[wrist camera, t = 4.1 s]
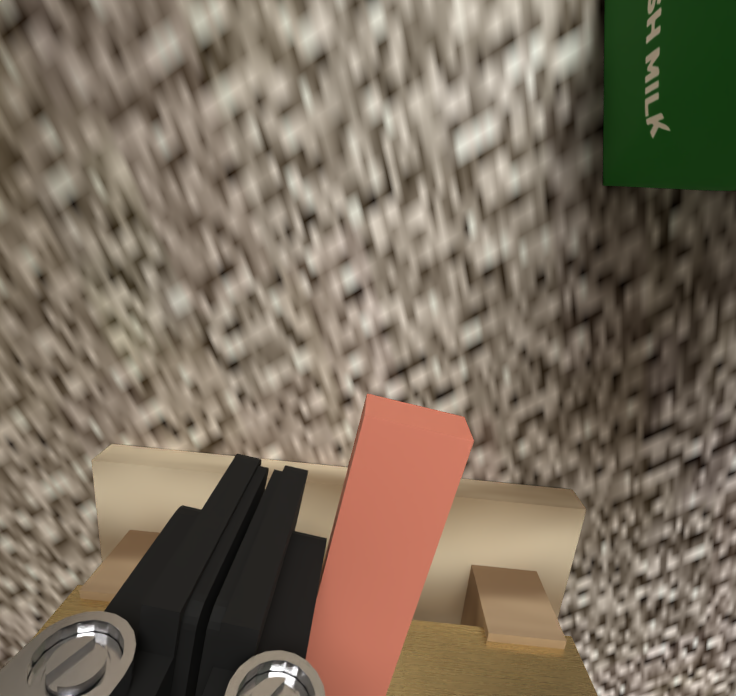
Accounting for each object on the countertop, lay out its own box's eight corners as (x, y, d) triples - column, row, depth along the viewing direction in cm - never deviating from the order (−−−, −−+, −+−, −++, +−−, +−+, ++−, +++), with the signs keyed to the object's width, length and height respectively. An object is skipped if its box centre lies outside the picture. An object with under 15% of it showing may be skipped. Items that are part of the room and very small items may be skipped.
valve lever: (325, 859, 13) (319, 922, 12) (240, 842, 13) (225, 903, 12) (477, 418, 9) (491, 448, 8) (353, 388, 9) (347, 413, 8)
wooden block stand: (96, 532, 19) (-59, 699, 12) (564, 580, 18) (663, 777, 12) (108, 640, 20) (-24, 837, 14) (537, 685, 20) (609, 909, 14)
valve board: (111, 443, 21) (29, 510, 16) (572, 489, 21) (629, 571, 16) (127, 623, 24) (62, 723, 19) (528, 665, 24) (564, 778, 19)
